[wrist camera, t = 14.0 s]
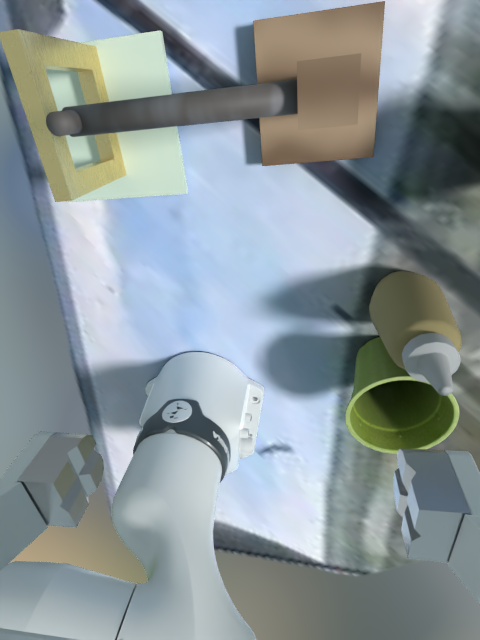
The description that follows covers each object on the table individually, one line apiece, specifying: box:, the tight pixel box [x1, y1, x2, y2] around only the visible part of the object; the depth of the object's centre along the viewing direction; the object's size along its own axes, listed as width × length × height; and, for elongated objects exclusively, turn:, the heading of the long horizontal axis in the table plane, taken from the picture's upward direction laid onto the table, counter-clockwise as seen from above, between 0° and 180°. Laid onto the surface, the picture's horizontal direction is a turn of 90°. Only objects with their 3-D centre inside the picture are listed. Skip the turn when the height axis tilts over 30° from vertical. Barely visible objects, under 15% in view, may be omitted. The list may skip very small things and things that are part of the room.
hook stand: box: [46, 1, 385, 166], centre depth 28 cm, size 12×20×22 cm, turn 96°
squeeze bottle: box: [369, 271, 462, 396], centre depth 39 cm, size 8×8×18 cm
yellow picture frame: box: [0, 29, 126, 202], centre depth 35 cm, size 12×2×12 cm, turn 6°
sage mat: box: [46, 31, 188, 202], centre depth 41 cm, size 15×15×1 cm
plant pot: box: [345, 337, 459, 454], centre depth 47 cm, size 12×12×11 cm
